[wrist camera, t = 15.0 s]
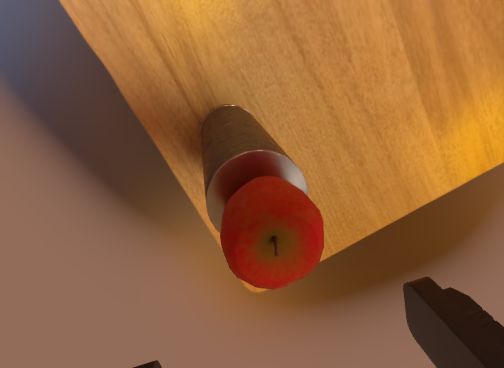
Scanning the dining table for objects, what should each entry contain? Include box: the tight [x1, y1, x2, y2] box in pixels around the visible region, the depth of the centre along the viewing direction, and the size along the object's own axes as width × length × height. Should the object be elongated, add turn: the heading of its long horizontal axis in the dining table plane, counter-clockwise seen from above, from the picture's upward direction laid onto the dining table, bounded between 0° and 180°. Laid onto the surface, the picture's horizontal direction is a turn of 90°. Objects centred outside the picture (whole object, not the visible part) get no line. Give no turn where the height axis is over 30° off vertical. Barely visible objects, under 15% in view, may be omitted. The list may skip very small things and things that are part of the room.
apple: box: [220, 176, 324, 290], centre depth 24 cm, size 6×6×8 cm
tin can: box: [199, 105, 308, 233], centre depth 37 cm, size 8×8×22 cm
